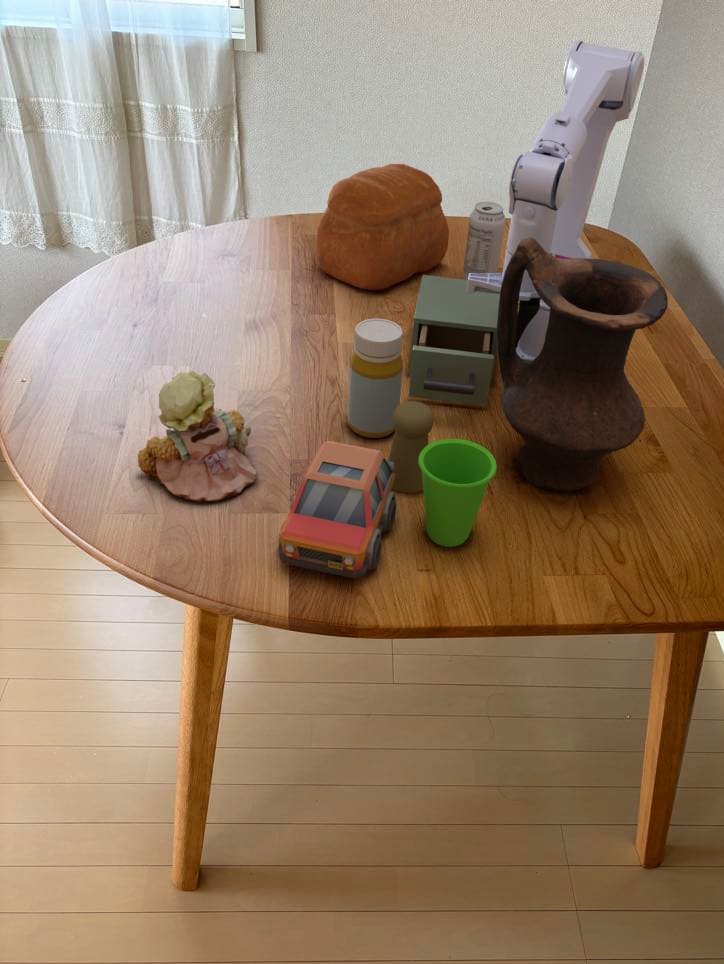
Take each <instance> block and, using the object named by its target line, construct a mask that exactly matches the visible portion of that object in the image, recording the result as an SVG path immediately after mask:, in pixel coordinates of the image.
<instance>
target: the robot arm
mask: <svg viewBox="0 0 724 964" xmlns="http://www.w3.org/2000/svg"><path fill="white" fill-rule="evenodd" d="M564 63H565V64H564V67H563V74H562V76H563V77H562V83H563V87H564V94H565V99H564V100H563V103H562V106H561V108H560V111H557V112H553V114H550V116H548V117H547V119H546V120H545V122H544V124H543V125H542V128H541V129H540V131H539V133H538V134H537V136H536V138H535V141H534V142H533V143H532V146H531V148H530V149H529V150H528V151H526V152H525V153H524V154H522V153H521V154H519V155H518V157H517V158H516V160H515V162H514V165H513V167H512V170H511V175H510V179H509V188H508V190H509V191H508V194H509V195H508V196H509V204H508V206H509V207H508V213H509V214H510V215H511V216H510V222H509V228H508V235H507V242H506V247H505V255H504V261H503V267H502V272H498V273H487V274H474V273H469V276H468V284H467V293H475V291H477V292H486V293H495V294H500V290H501V285H502V281H503V277H504V273H505V270H506V268H507V266H508V264H509V262H510V260H511V257H512V256H513V254H514V253H515V251H516V249H517V247H518V245H519V243H520V242H521V240H522V239H524V238H527V237H533V238H534V239H535V240H536V241H537V242H538V243H539V244H540V246H541V247H542V248H543V249H544V250H545V251H546V252H547V253H548V254H550V253H553V254H557V255H561V256H565V257H569V258H572V259H574V258H585V259H594V258H593V256H594V255H593V254H592V252H591V251H590V249H589V248H588V247H587V246H586V244H585V242H584V241H583V240H582V236H583V232H584V228H585V224H586V221H587V217H588V214H589V210H590V208H591V203H592V200H593V197H594V192H595V189H596V186H597V182H598V178H599V175H600V171H601V167H602V163H603V160H604V157H605V152H606V149H607V145H608V142H609V139H610V136H611V134H612V132H613V130H614V127H615V126H616V124H617V123H618V122H621V121H624V120H628V119H630V115H631V113H632V112H633V110H634V107H635V104H636V103H635V102H636V98H637V96H638V92H639V89H640V85H641V82H642V78H643V73H644V68H645V56H644V54H643V52H642V51H633V50H626V49H622V48H618V47H617V48H616V47H610V46H606V45H599V44H594V43H590V42H584V40H580V39H578V40H576V41H575V42H574V43H573V44H572V45H571V47H570V49H569V50H568V53H567V56H566V59H565V62H564ZM558 259H560V258H558ZM517 311H518V321H517V331H516V343H515V346H516V353H517V354H518V355H519V356H520V358H521V359H522V360H524V361H529V362H531V361H533V360H534V359H535V358H536V357H537V356H538V355H539V354H540V352H541V350H542V348H543V345H544V342H545V334H546V330H547V326H548V321H549V315H550V307H548V306H547V305H546V303H545V302H544V301H543V300H542V299H541V298H540V297H539V295H538V294H537V292H536V290H535V288H534V286H533V283H532V280H531V279H530V277H529V274H528V271H527V270H525V271H524V275H523V279H522V284H521V288H520V295H519V301H518V309H517Z"/></svg>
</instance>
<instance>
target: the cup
mask: <svg viewBox="0 0 724 964" xmlns="http://www.w3.org/2000/svg"><path fill="white" fill-rule="evenodd" d="M418 463H419V465H420V468H421V470H422V478H423V490H422V491H423V498H424V499H423V501H424V513H425V514H424V515H425V526H426V527H425V528H426V532H427V535H428V537H429V539H430V540H431V541H432V542H433V543H435V544H437V545H440V546H442V547H447V548H448V547H458V546H459V545H460V546H461V545H463V544H464V543H465V542H466V541H467V539H468V538H469V536H470V534H471V531H472V529H473V526H474V523H475V521H476V518H477V515H478V513H479V510H480V507H481V506H482V505H481V504H482V502H483V499H484V497H485V494H486V491H487V488H488V486H489V484H490V481H491V480H492V478H493V477H494V476H495V475H496V472H497V469H498V465H497V464H498V463H497V462H496V459H495V457H494V455H493V454H492V453H491V451H490V450H488V449H487V448H486V447H484V446H483V445H480V444H478V443H476V442H474V441H469V440H466V439H460V438H445V439H439V440H436V441H432V442H431V443H428V445H427V446H426V447H425V448H424V449H423V450H422V451H421V453H420V455H419V461H418Z"/></svg>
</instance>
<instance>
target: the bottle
mask: <svg viewBox="0 0 724 964" xmlns="http://www.w3.org/2000/svg"><path fill="white" fill-rule="evenodd" d="M353 342H354V345H353V346H354V347H353V348H354V350H353V352H352V354H351V357H350V363H349V381H348V382H349V383H348V384H349V385H348V403H347V404H348V405H347V424H348V426H349V428H350V429H352V431H353V432H354V433H355V434H357V435H359V436H361V437H364V438H368V439H381V438H385V437H387V436H389V435H390V434H393V432H395V429H394V427H393V424H392V415H393V412H394V410H395V409H396V407H397V406H398V405H399V404H401V391H402V381H403V369H404V361H403V358H402V346H403V345H402V344H403V329H402V328H401V325H399V324H397V322H394V321H392V320H389V319H385V318H368V319H365V320H362V321H360V322H359V323H357V324H356V326H355V329H354V341H353Z"/></svg>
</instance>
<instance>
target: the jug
mask: <svg viewBox="0 0 724 964" xmlns="http://www.w3.org/2000/svg"><path fill="white" fill-rule="evenodd" d="M525 270H527V271H528V274H529V277H530V279H531V280H532V283H533V286H534V288H535V290H536V292H537V294H538V295H539V297H540V298H541V299H542V300H543V301H544V302H545V303H546V305H547V306H548V307H550V315H549V321H548V326H547V330H546V334H545V342H544V345H543V348H542V350H541V352H540V354H539V355H538V356H537V357H536V358H535V359H534V360H533V361H527V360H522V359H521V358H520V356H519V355H518V354H517V353H516V346H515V343H516V331H517V321H518V311H517V309H518V310H519V302H520V300H519V295H520V288H521V284H522V279H523V275H524V271H525ZM518 301H519V302H518ZM668 301H669V300H668V295H667V290H666V288H665V287H664V286H663V285H662V283H661V282H660V281H659V280H658V279H657V278H656V277H654V276H653V275H652V274H650V273H649V272H647V271H645V270H643V269H641V268H638V267H635V266H633V265H630V264H627V263H623V262H619V261H615V260H614V261H613V260H609V259H601V258H593V259H585V258H574V259H558V258H556V257H554V256H552V255H550V254H548V253H547V252H546V251H545V250H544V249H543V248H542V247H541V246H540V244H539V243H538V242H537V241H536V240H535V239H534V238H533V237H527V238H524V239H522V240H521V242H520V243H519V245H518V247H517V249H516V251H515V253H514V254H513V256H512V257H511V260H510V262H509V264H508V266H507V268H506V270H505V273H504V277H503V281H502V285H501V290H500V299H499V309H498V319H497V351H496V358H497V362H498V368H499V373H500V377H501V382H502V391H501V406H502V411H503V415H504V417H505V419H506V421H507V422H508V424H509V425H510V427H511V428H512V430H514V431H515V432H516V433H517V435H519V436H520V437H521V439H522V440H523V441H524V442H525V443H524V444H523V445H522V446H521V448H520V449H519V452H518V454H517V466H518V468H519V470H520V471H521V472H522V474H524V476H525V477H524V478H526V480H528V481H529V482H530V483H532V484H534V485H535V486H537V487H538V488H539V487H540V488H542V489H544V490H545V489H546V490H549V491H552V492H553V491H554V492H563V493H564V492H565V493H566V492H567V493H568V492H573V491H580V490H583V489H586V488H588V487H589V486H590V485H591V484H592V483H594V482H595V481H596V479H597V478H598V475H599V474H600V467H601V466H600V462H599V461H600V460H601V459H602V458H604V457H607V455H609V454H612V453H614V452H617V451H619V450H622V449H623V450H624V449H626V448H627V447H629V446H631V445H632V444H633V443H635V441H636V440H637V439H638V438H639V437H640V435H641V434H642V432H643V431H644V429H645V425H646V416H645V415H646V414H645V410H644V407H643V405H642V402H641V399H640V397H639V395H638V394H637V392H636V390H635V389H634V387H633V386H632V384H631V383H630V382H629V380H628V377H627V376H626V372H625V366H626V363H627V357H628V353H629V349H630V346H631V343H632V341H633V338H634V336H635V333H636V330H641V329H645V328H648V327H650V326H653V325H654V324H655V323H657V321H659V320H660V319H662V317H663V316H664V315H665V313H666V310H667V309H668V304H669V303H668Z"/></svg>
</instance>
